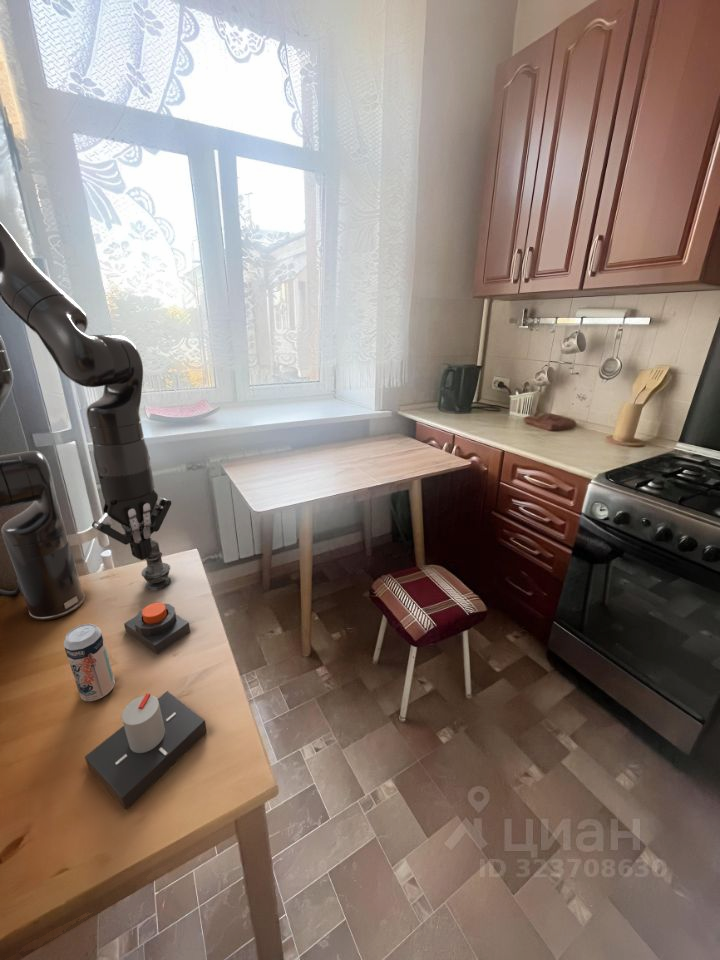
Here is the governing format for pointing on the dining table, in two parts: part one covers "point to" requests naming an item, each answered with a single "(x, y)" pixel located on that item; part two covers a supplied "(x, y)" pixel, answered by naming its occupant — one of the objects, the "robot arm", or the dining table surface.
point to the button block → (158, 630)
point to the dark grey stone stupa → (156, 569)
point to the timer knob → (143, 723)
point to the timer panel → (145, 753)
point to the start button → (154, 613)
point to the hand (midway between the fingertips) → (143, 557)
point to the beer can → (89, 662)
